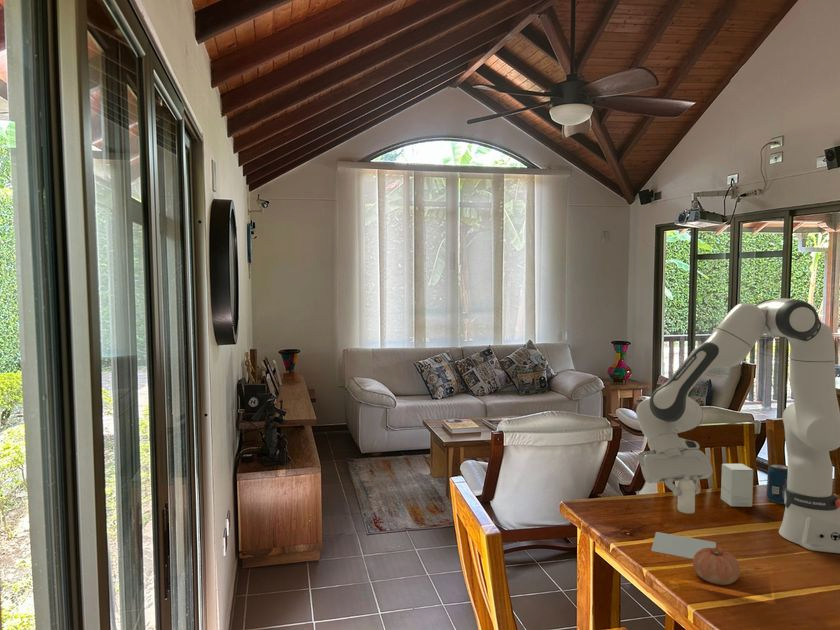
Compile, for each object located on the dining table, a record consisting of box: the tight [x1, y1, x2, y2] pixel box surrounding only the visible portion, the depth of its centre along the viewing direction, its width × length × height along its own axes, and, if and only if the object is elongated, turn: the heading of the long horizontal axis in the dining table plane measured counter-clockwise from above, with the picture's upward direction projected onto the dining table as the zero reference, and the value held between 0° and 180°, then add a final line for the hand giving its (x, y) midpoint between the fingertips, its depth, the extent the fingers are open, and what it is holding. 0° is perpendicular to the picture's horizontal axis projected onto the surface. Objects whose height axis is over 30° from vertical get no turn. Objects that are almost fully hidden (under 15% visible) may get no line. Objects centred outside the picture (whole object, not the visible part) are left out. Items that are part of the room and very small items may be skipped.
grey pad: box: [650, 531, 717, 560], centre depth 169 cm, size 16×14×1 cm
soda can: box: [766, 463, 788, 504], centre depth 206 cm, size 7×7×12 cm
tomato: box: [692, 547, 741, 586], centre depth 151 cm, size 11×11×8 cm
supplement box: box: [720, 463, 754, 508], centre depth 204 cm, size 7×7×13 cm
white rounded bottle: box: [677, 475, 696, 514], centre depth 168 cm, size 4×4×10 cm
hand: (687, 494), depth 167 cm, fingers closed on white rounded bottle, 4 cm apart
